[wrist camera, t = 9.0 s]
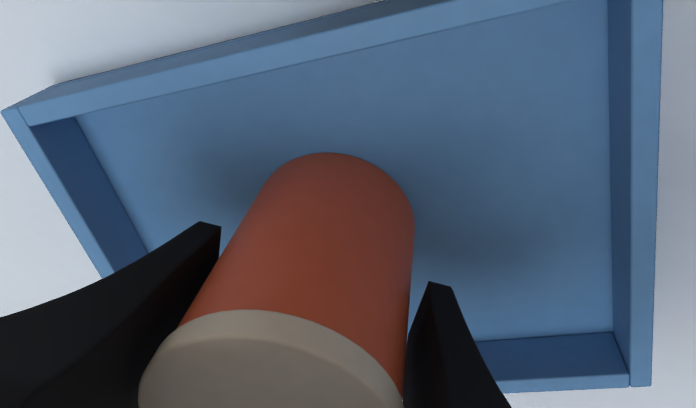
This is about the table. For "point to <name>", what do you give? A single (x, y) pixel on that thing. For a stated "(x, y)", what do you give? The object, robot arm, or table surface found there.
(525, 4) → the tray
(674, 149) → the table surface
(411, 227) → the snack tub
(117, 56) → the table surface
